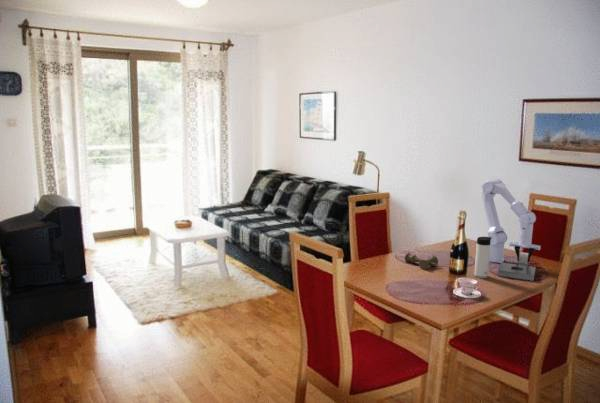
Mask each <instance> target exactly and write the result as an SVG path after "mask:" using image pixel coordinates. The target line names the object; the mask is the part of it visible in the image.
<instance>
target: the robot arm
mask: <svg viewBox="0 0 600 403" xmlns="http://www.w3.org/2000/svg"><path fill="white" fill-rule="evenodd" d="M481 188H482V194H481V199H482V202H483V207H484V208H483V209H484V211H485V215H486V219H487V223H488V226H489V227H488V228H489V229H488V230H487V237H491V238H492V239H491V242H490V255H489V263H490V262H492V263H499V264H501V262H502V263H504V261H505V258H504V250H505V249H504V248H505V245H506V244H505V243H506V242H507V240H508V235H507V233H506V232H505V229H504V228H503V227H502V226H501V224H500V219H499V215H498V212H497V208H496V204H495V201H494V197H495V196H496V194H498V195H500V196H501V197H502V198H503V199H504V200H505V201H506V202H507V203H508V204H509V205H510V210H512V212H513V213H514V214H515V215H516V216H517V217H518V221H519V223H520V230H519V239H518V242H516V241H514V242H513V241H509V243H508V244H509V245H508V247H514V249H513V250H514V251H515V255H516V258H517V259H516V260H517V262H519V254H520V252H521V248H522V249H528V261H527V264H529V263H530V260H531V258H532V255H533V254H534V253H535V251H536V250H537V251H541V245H538V244H533V243H532V241H533V240H532V239H533V231H534V223H535V222H536V221H537V216H536V214H535V213H534V212H533V211H530V210H529V209H527V208H526V206H525V205H524V202H523V201H520V200H516V198H515V197H514V196H513V194H512V193H511V192H510V191H509V189H508V188H507V187H506V184H505V183H504V182H503V180H501V179H499V178H497V179H492V180H491V179H490V180H485V181H484V182H483V184H482V185H481Z"/></svg>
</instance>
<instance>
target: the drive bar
mask: <svg viewBox="0 0 600 403" xmlns="http://www.w3.org/2000/svg"><path fill="white" fill-rule="evenodd" d="M528 255H529V252H522V251H520V253H519V261H518V264H517V265H523V266H528V263H527V261H528Z"/></svg>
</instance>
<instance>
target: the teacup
mask: <svg viewBox="0 0 600 403" xmlns="http://www.w3.org/2000/svg"><path fill="white" fill-rule="evenodd" d="M457 281H458V283H459V285H460V287H457V288H454V289H453V292H452V293H453V294H454V295H456V296H458V297H460V298H465V299H477V298H480V297H481V296H482V292H480V291H479V290H477V289H478V288H479V285H478V284H477V283H478V280H476V279H474V278H471V277H458V278H457ZM474 287H476V288H475V289H474Z"/></svg>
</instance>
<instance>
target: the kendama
mask: <svg viewBox="0 0 600 403" xmlns="http://www.w3.org/2000/svg"><path fill="white" fill-rule="evenodd" d="M404 262H406V263H410V262H411V263H412V264H414V263H418V267H419V268H420V269H421V270H425V271H426V270H428V268H429V266H431V267H434V268H435V267H437V266H438V267H439V266H440V264H439V259H438V257H437V256H436V255H433V254H430V255H429V256H428V258H427V259H424V258H420V257H418V256H417V255H416V254H413V255H412V254H411V253H410V252H408V253H406V254H405V256H404Z"/></svg>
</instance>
